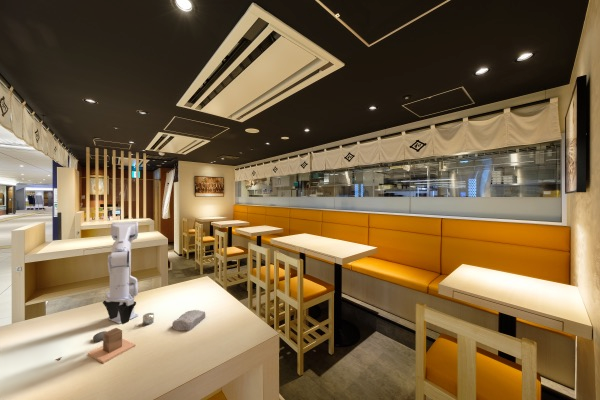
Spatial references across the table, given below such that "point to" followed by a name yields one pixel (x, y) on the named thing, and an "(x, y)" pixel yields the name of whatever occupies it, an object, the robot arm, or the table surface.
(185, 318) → the stone block
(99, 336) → the black rubber puck
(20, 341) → the table surface
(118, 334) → the walnut block
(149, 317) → the brushed metal tin
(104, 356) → the terracotta tile
